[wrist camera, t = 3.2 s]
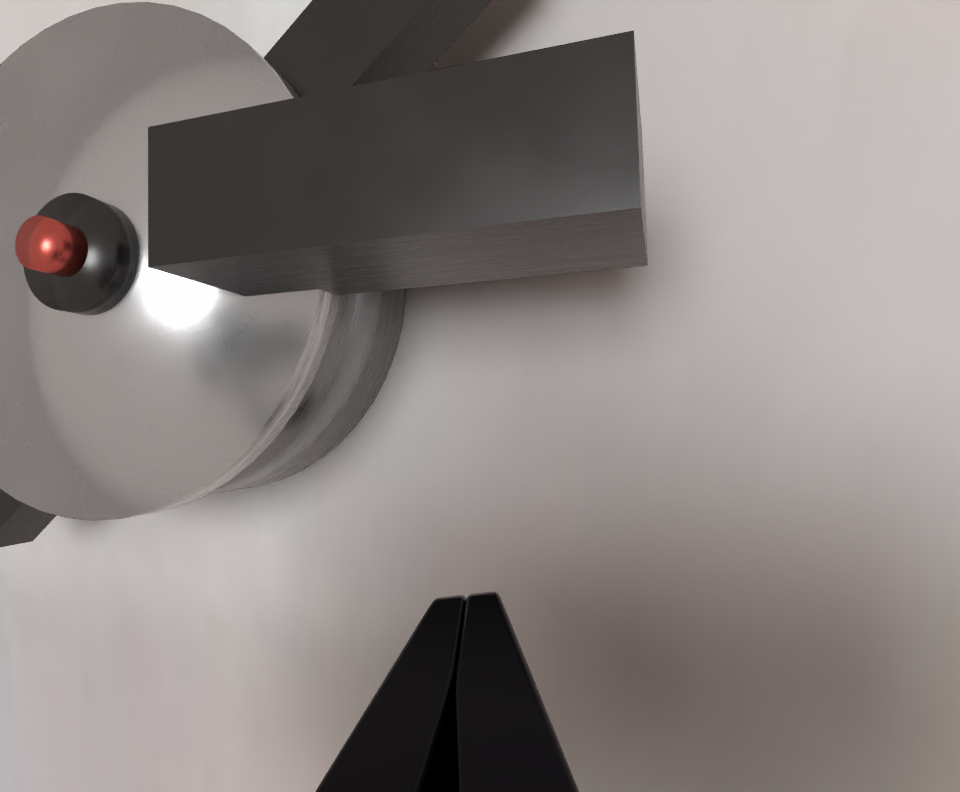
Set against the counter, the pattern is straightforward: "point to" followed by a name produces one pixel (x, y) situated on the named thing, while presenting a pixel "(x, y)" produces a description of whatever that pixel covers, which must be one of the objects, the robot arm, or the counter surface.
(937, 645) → the counter surface
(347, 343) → the grey round flat pan
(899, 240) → the counter surface
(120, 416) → the lid
